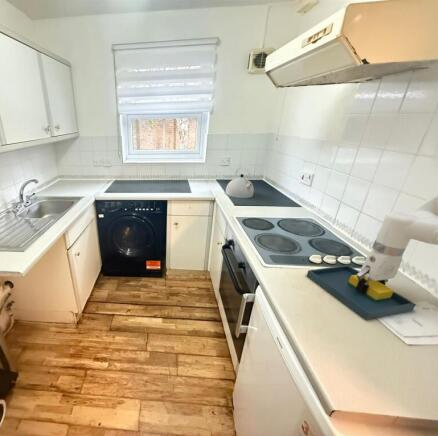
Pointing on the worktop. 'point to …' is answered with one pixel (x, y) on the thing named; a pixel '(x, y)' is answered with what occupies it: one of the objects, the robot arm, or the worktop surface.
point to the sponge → (373, 289)
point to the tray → (357, 293)
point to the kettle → (240, 187)
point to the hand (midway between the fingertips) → (368, 290)
